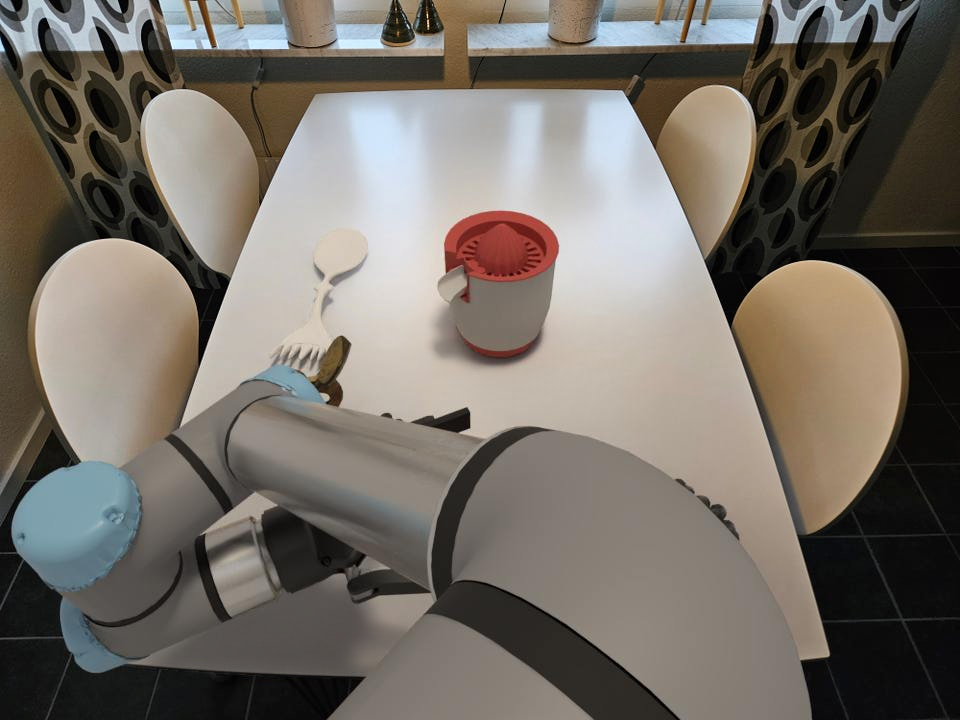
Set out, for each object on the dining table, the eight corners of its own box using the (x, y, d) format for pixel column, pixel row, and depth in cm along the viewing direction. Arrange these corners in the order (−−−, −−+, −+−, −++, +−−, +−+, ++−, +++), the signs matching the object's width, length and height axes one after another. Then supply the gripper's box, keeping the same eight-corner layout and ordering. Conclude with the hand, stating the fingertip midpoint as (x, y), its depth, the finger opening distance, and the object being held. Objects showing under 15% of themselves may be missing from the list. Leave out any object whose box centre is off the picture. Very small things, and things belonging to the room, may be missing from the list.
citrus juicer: (419, 325, 101) (410, 217, 86) (511, 286, 107) (517, 179, 93) (472, 389, 92) (472, 282, 77) (569, 343, 98) (585, 235, 84)
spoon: (271, 370, 94) (265, 354, 92) (324, 237, 116) (320, 221, 113) (331, 374, 94) (327, 358, 91) (373, 240, 115) (371, 224, 113)
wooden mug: (370, 462, 84) (350, 370, 70) (263, 472, 82) (223, 380, 69) (370, 409, 90) (352, 314, 76) (271, 417, 88) (235, 323, 75)
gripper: (252, 471, 66) (447, 400, 72) (317, 704, 51) (554, 590, 58) (232, 427, 60) (445, 355, 67) (298, 674, 46) (563, 552, 52)
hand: (496, 464), depth 62 cm, fingers open, 12 cm apart
